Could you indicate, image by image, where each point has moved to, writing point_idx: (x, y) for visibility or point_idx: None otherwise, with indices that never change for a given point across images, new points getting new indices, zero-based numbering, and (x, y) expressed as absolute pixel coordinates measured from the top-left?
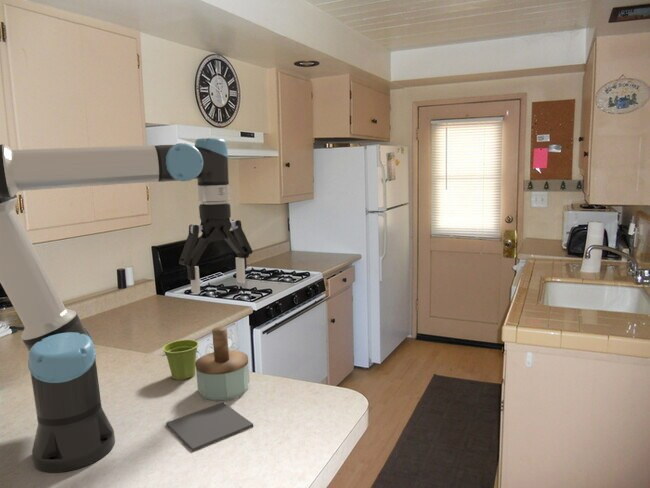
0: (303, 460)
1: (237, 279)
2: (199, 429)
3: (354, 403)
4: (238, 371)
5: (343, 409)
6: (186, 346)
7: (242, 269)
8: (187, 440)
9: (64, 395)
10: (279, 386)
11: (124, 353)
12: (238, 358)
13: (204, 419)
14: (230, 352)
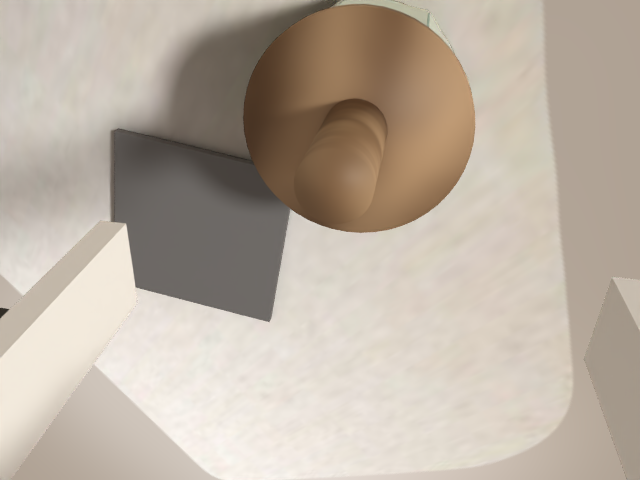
0: (252, 453)
1: (615, 306)
2: (164, 234)
3: (504, 443)
4: None
5: (462, 435)
6: None
7: (623, 469)
8: None
9: None
10: (494, 235)
11: None
12: (406, 180)
13: (199, 207)
14: (441, 93)
